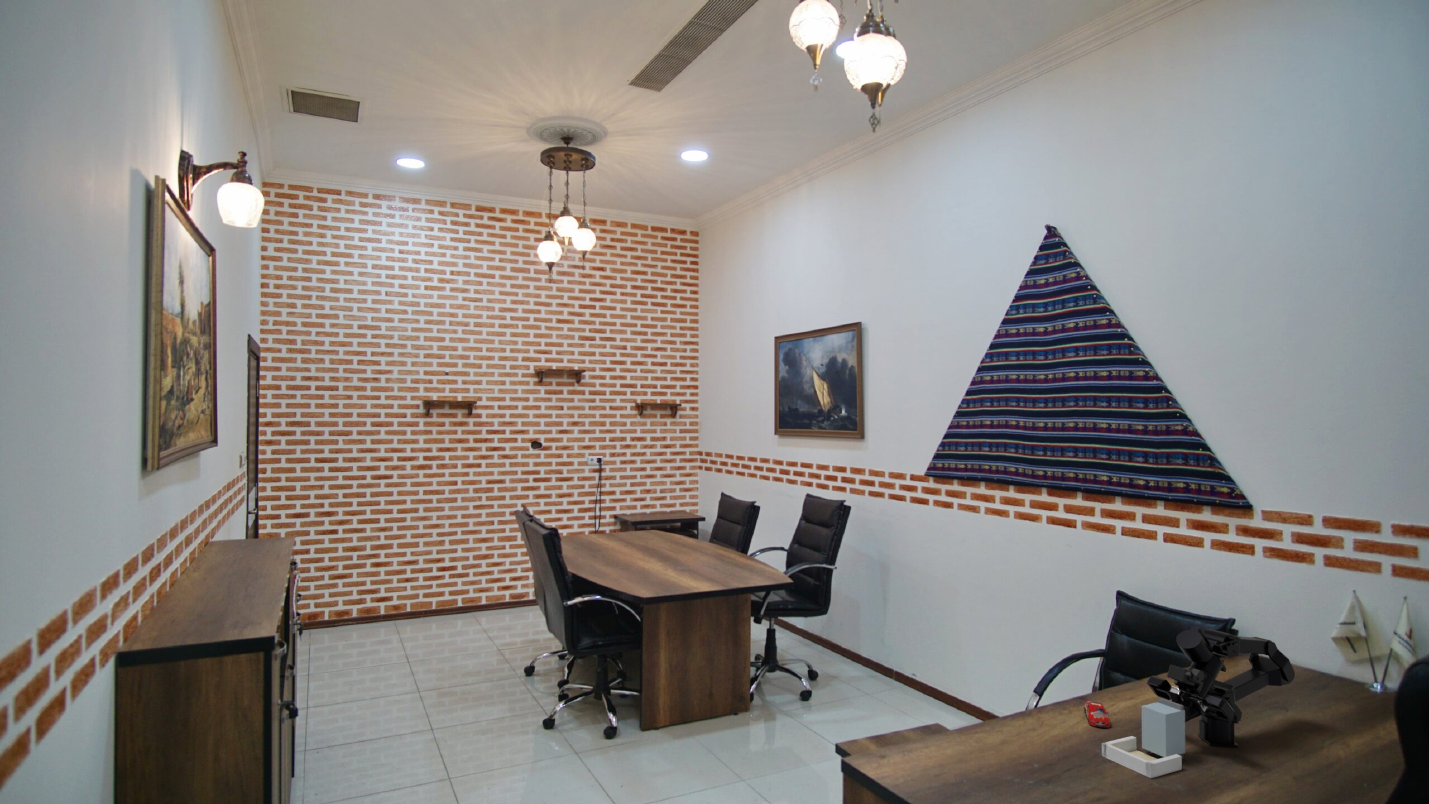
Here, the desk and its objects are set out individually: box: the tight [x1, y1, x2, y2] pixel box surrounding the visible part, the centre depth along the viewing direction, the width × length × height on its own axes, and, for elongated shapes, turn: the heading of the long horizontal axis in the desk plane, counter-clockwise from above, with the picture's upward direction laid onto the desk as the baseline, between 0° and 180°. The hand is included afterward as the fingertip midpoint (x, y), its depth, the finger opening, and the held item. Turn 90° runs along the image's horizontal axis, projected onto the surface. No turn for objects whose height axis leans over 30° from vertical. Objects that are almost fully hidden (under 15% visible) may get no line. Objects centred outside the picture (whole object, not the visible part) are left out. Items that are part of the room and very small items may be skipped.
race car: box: [1083, 700, 1111, 728], centre depth 203 cm, size 13×5×4 cm, turn 159°
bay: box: [1101, 735, 1183, 779], centre depth 177 cm, size 11×12×3 cm
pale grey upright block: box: [1141, 697, 1186, 759], centre depth 181 cm, size 7×6×12 cm
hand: (1173, 725), depth 183 cm, fingers closed, pressing on pale grey upright block
